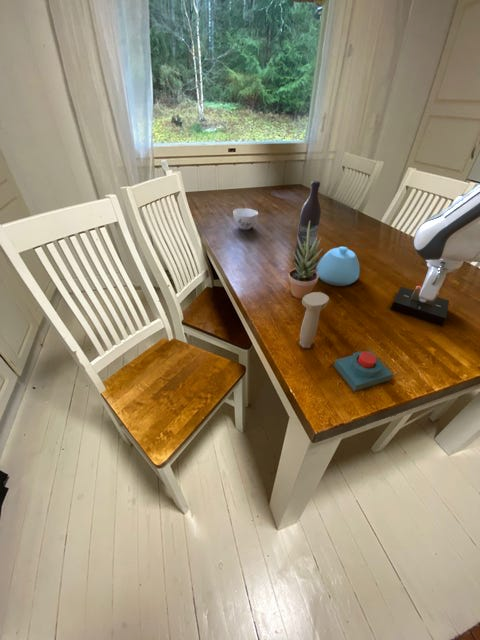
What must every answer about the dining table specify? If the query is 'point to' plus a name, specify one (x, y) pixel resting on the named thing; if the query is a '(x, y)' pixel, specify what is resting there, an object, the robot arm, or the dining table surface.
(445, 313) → the rod panel
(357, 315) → the dining table surface
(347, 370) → the button block
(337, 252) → the sugar bowl
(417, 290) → the turn handle
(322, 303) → the handle
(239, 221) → the teacup
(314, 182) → the wine bottle
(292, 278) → the potted plant
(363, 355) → the red button
